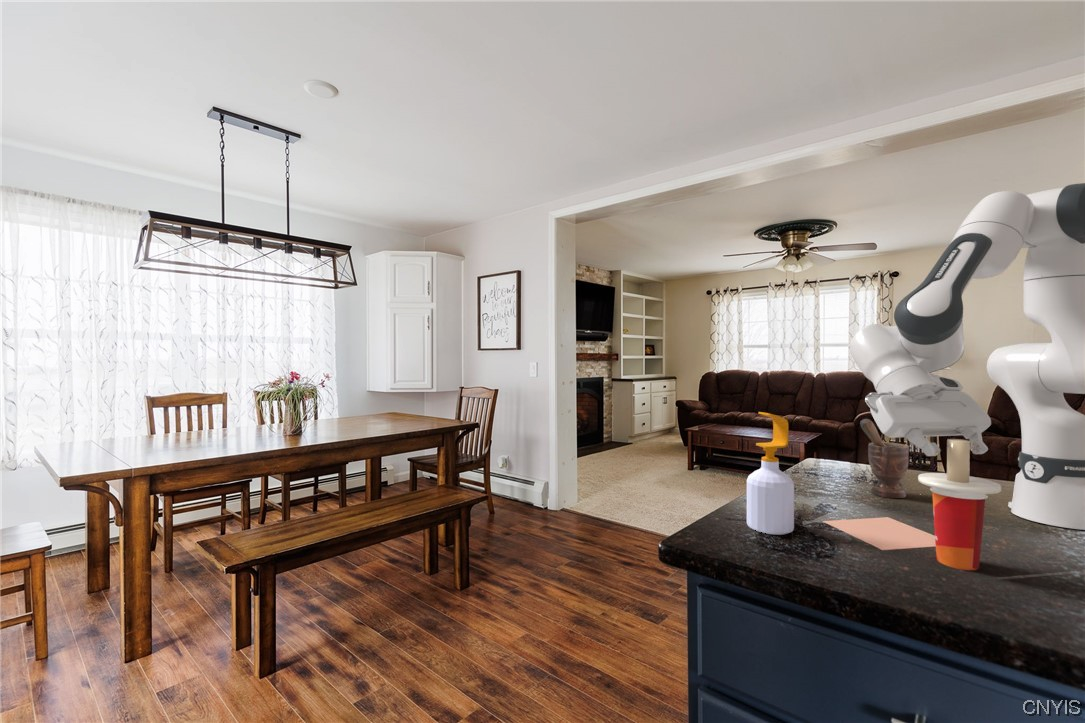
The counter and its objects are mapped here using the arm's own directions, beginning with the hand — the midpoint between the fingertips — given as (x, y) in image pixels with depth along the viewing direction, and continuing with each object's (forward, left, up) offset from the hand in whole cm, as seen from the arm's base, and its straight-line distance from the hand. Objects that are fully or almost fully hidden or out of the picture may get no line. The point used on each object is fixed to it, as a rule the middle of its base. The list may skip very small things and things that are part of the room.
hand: (958, 453), depth 86 cm
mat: (0, -15, -20) cm, 25 cm away
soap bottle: (+21, -22, -20) cm, 36 cm away
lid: (0, 0, -6) cm, 6 cm away
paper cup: (0, 0, -20) cm, 20 cm away
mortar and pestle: (-22, -39, -20) cm, 49 cm away
